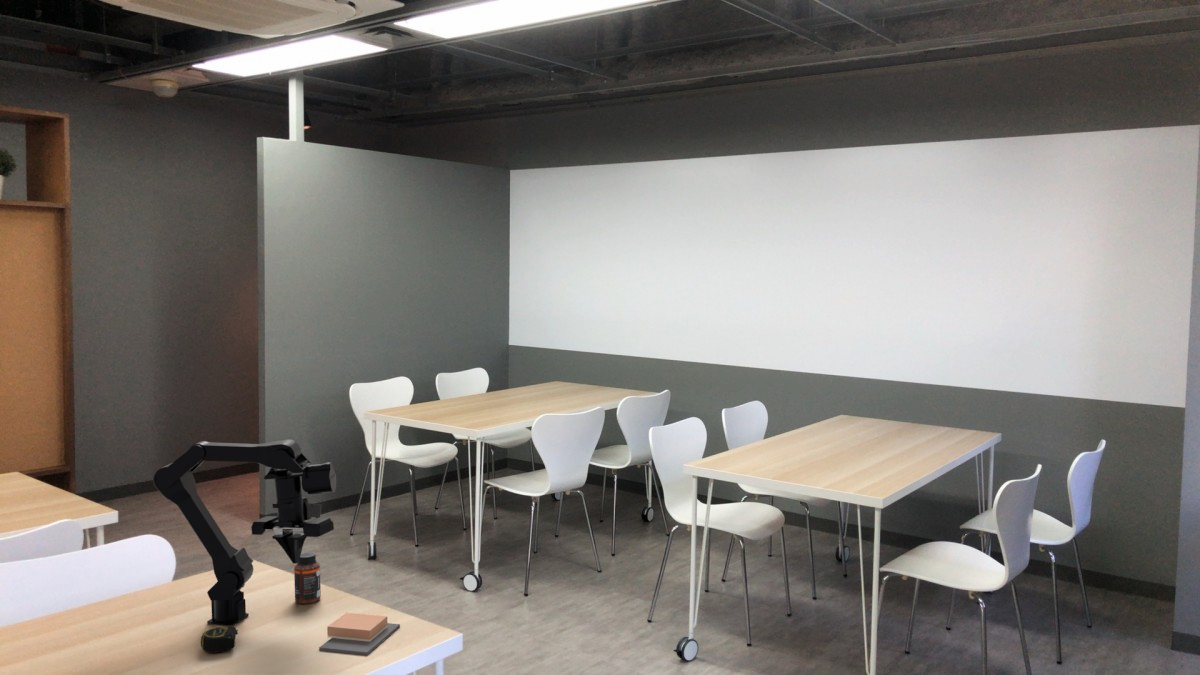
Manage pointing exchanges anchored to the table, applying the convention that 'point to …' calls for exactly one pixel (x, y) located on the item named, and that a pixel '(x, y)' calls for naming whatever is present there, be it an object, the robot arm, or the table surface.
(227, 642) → the tape measure
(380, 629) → the tile
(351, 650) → the mat
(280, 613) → the table surface
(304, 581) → the supplement bottle
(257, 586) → the table surface
